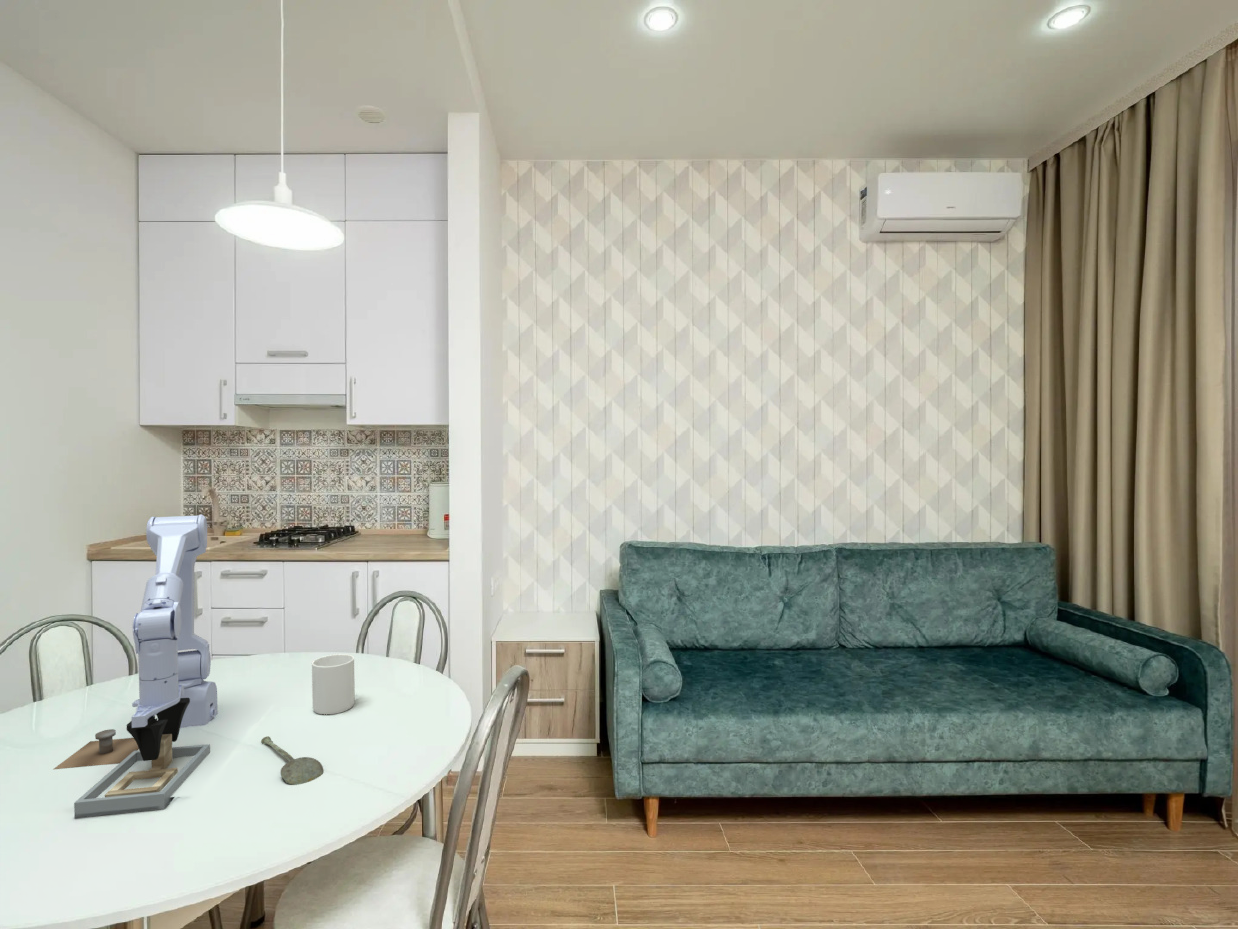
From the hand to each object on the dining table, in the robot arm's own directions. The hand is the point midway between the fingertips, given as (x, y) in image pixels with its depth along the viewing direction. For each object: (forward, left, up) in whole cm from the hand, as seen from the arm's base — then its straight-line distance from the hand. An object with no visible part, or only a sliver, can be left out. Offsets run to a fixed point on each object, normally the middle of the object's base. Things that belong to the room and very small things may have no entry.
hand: (160, 750), depth 116 cm
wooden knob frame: (0, +4, -3) cm, 5 cm away
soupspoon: (-21, 0, -5) cm, 21 cm away
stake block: (+13, -8, -4) cm, 16 cm away
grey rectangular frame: (0, +4, -4) cm, 6 cm away
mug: (-23, -26, -4) cm, 35 cm away
